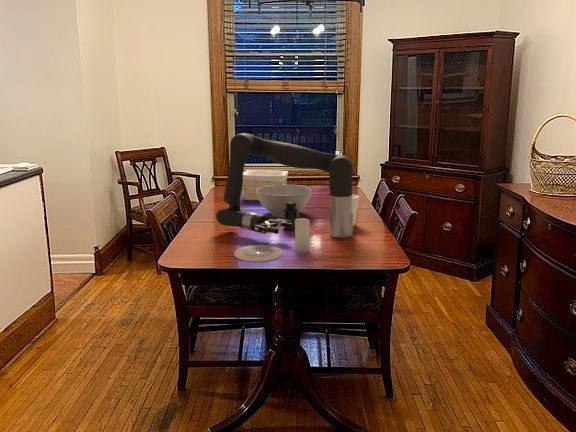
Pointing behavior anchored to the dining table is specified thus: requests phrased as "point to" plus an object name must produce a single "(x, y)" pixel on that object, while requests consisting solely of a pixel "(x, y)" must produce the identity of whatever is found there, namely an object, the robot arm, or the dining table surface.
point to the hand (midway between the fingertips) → (285, 228)
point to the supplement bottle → (290, 213)
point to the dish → (258, 253)
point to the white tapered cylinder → (302, 235)
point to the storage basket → (261, 181)
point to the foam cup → (354, 207)
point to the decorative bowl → (282, 197)
